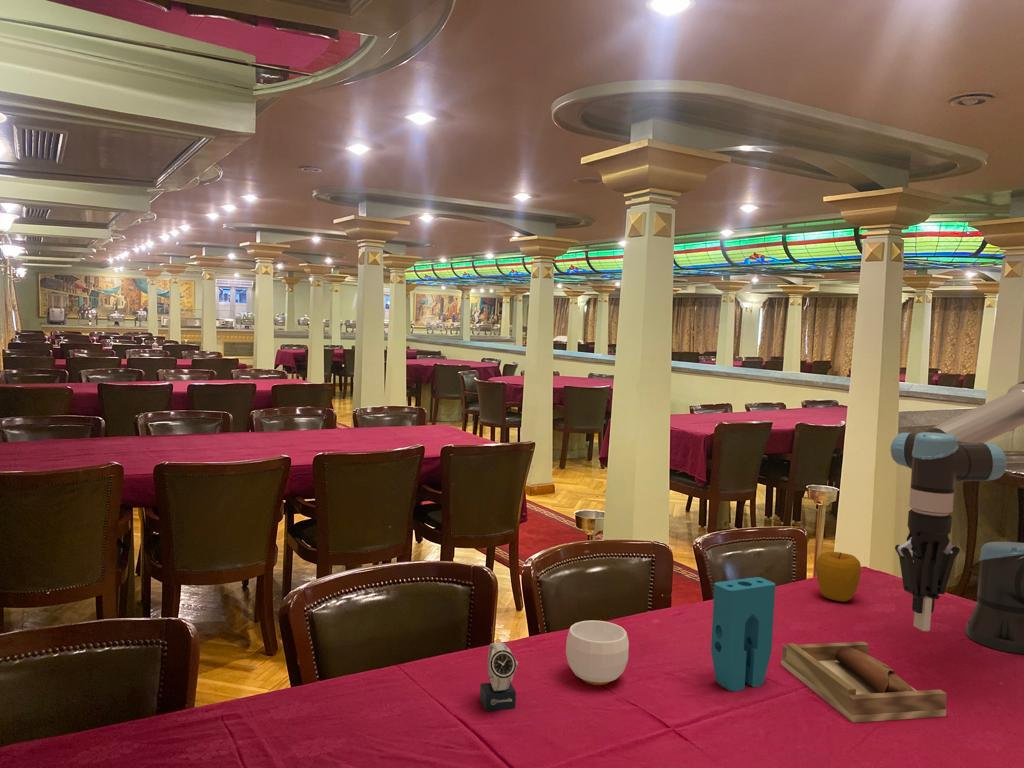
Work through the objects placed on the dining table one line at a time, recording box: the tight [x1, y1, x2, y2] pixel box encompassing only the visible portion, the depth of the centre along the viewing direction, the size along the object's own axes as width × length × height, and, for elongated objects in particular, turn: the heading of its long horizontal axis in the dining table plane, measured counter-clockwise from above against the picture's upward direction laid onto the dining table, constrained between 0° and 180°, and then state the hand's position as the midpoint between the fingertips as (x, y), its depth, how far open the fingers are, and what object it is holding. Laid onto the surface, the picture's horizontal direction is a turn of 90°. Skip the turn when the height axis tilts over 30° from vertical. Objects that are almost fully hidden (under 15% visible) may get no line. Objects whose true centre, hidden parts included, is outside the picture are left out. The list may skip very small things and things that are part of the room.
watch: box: [479, 642, 519, 712], centre depth 136 cm, size 6×8×11 cm
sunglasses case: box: [835, 647, 914, 693], centre depth 148 cm, size 18×7×7 cm
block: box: [710, 576, 776, 692], centre depth 148 cm, size 12×5×20 cm, turn 115°
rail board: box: [780, 641, 948, 723], centre depth 147 cm, size 19×24×5 cm
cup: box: [565, 619, 630, 686], centre depth 148 cm, size 12×12×10 cm
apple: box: [815, 551, 862, 602], centre depth 199 cm, size 11×11×13 cm
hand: (921, 628), depth 149 cm, fingers closed
